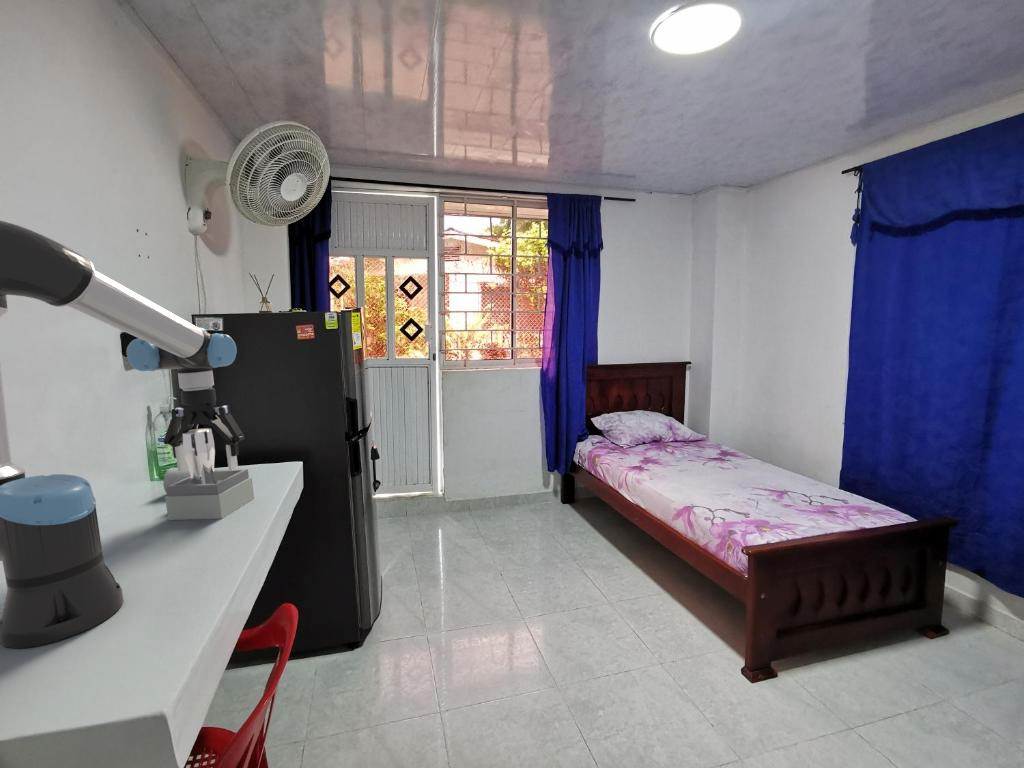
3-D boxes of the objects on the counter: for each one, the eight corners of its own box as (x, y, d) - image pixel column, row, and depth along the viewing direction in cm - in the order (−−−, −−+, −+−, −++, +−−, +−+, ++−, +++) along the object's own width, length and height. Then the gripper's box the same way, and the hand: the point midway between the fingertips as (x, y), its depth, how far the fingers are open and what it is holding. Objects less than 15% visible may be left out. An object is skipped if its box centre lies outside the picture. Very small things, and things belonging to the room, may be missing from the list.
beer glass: (216, 488, 128) (209, 431, 126) (185, 493, 125) (177, 435, 124) (221, 481, 134) (214, 426, 133) (192, 485, 132) (184, 430, 130)
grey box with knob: (222, 518, 123) (217, 485, 122) (156, 520, 124) (152, 487, 123) (254, 498, 137) (250, 468, 136) (195, 500, 138) (191, 470, 137)
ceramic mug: (195, 495, 142) (191, 469, 142) (164, 498, 141) (160, 472, 141) (212, 484, 153) (209, 460, 152) (183, 487, 152) (180, 462, 151)
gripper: (253, 384, 130) (262, 463, 132) (162, 388, 131) (173, 466, 134) (235, 388, 122) (245, 471, 125) (139, 392, 124) (151, 475, 126)
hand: (208, 469), depth 129 cm, fingers open, 13 cm apart
